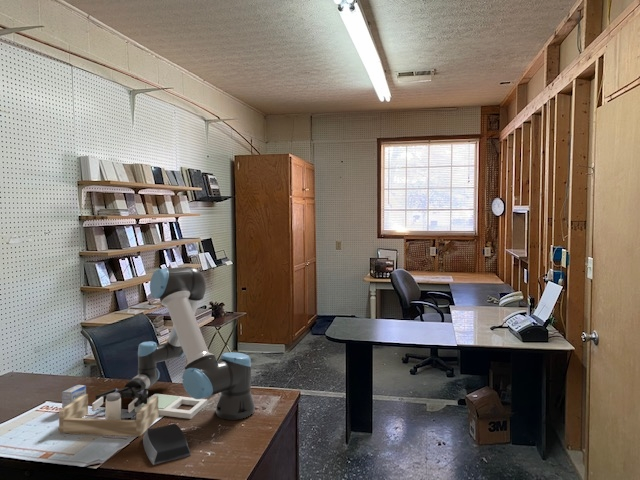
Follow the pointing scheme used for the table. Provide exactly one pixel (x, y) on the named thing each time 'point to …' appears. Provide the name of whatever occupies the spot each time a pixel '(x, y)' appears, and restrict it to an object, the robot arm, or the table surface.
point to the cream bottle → (113, 406)
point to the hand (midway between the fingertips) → (111, 408)
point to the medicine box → (72, 394)
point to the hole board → (176, 405)
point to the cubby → (105, 420)
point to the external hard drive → (165, 444)
